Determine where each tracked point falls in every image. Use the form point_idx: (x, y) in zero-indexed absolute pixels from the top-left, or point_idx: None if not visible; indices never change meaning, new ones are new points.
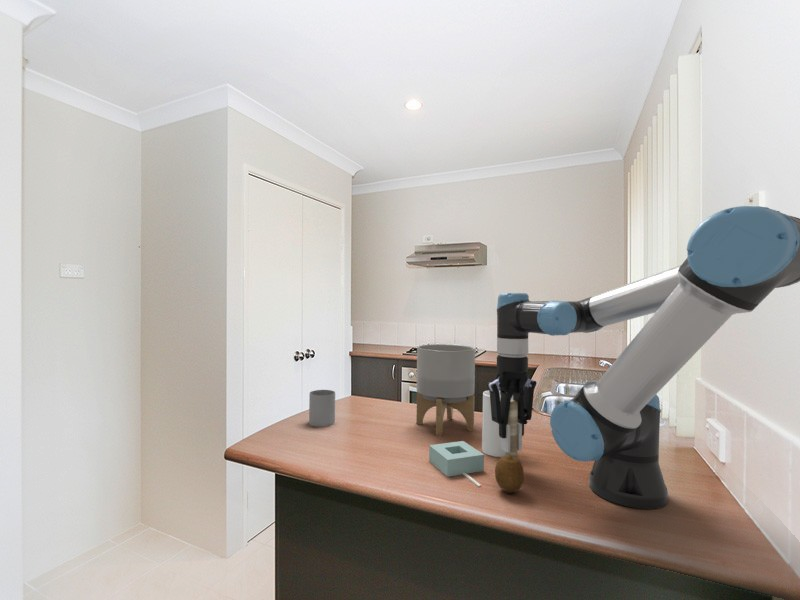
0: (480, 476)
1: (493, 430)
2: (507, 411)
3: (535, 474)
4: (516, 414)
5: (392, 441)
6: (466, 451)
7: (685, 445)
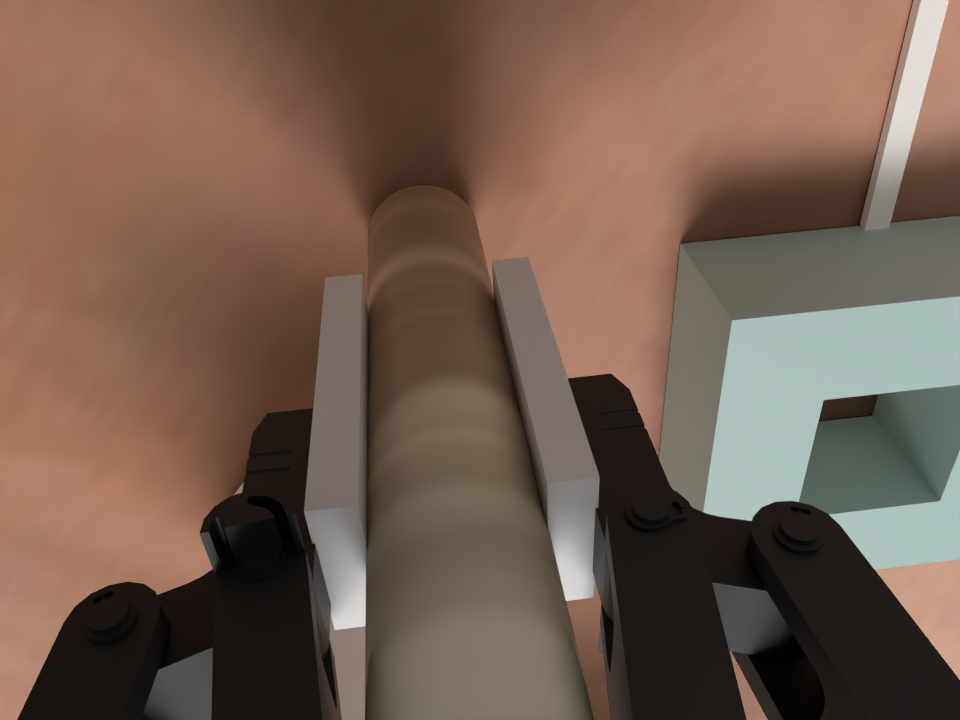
0: (777, 152)
1: None
2: (677, 712)
3: (238, 61)
4: (435, 659)
5: None
6: (814, 418)
7: None
